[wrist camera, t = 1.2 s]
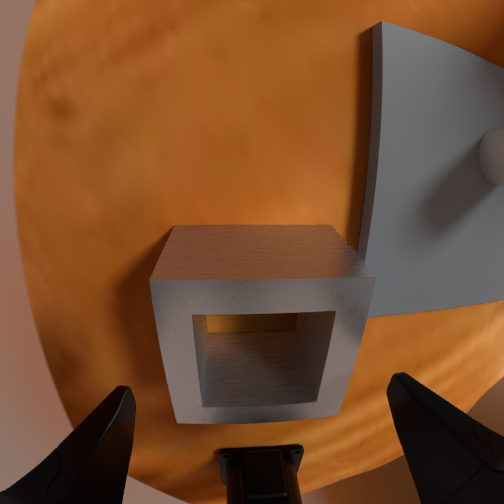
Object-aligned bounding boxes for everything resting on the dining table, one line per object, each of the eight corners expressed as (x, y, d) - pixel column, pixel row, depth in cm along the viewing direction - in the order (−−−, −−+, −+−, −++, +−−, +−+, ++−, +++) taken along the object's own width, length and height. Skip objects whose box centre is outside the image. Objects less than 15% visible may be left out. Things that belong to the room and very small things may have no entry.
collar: (314, 346, 17) (338, 415, 12) (186, 350, 16) (177, 423, 12) (331, 225, 14) (376, 276, 10) (174, 225, 14) (149, 280, 9)
